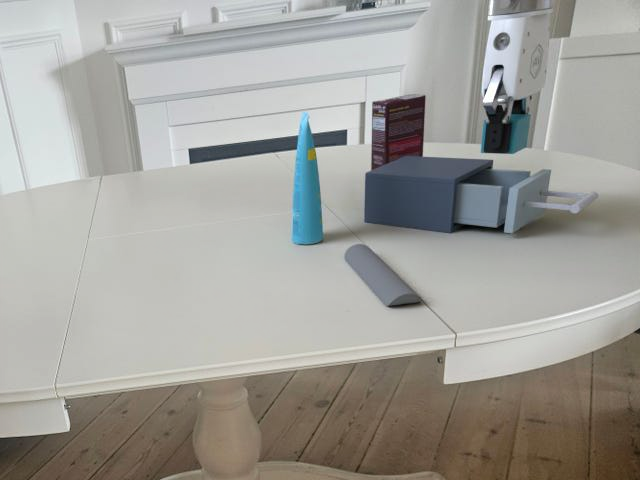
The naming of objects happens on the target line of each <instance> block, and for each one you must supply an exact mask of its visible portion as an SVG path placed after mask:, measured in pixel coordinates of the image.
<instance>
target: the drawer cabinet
mask: <svg viewBox="0 0 640 480" xmlns="http://www.w3.org/2000/svg"><path fill="white" fill-rule="evenodd" d="M484 169H494V159H486V158H485V159H483V158H463V157H462V158H461V157H443V156H442V157H439V156H423V157H420V156H405V157H402V158H400V159H397V160H395V161H393V162H390V163H388V164H385V165H383V166H381V167H378V168H376V169H374V170H371V169H370V170H368V171H366V172H365V174H364V211H363V212H364V216H363V217H364V218H363V221H364V223H370V224H378V225H387V226H393V227H401V228H407V229H416V230H424V231H430V232H431V231H432V232H438V233H439V232H440V233H446V234H451V233H453V232H455V231H456V230H458V229H460V228H462V227H463V226H465V225H466V224H461V223H454V212H455V201H456V190H457V183H458V182H460V181H462V180H464V179H466V178H468V177H470V176H472V175H474V174H476V173H478V172H480V171H482V170H484Z"/></svg>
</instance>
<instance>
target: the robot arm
mask: <svg viewBox="0 0 640 480" xmlns="http://www.w3.org/2000/svg"><path fill="white" fill-rule="evenodd" d="M555 1H556V0H489V1H488V9H487V10H488V12H487V21H491V23H490V27H489V32H488V37H487V43H486V49H485V54H484V55H485V56H484V63H483V71H482V77H481V78H482V80H481V97H482V98H483V100H482V107H483V108H484V110H485V114H486V115H485V120H486V132H485V141H484V152H485V153H484V154H502V155H506V154H505V153H507V152H508V151H509V145H510V136H511V128H512V123H509V121H510V116H511V114H530V107H531V105H530V104H531V100H532V95H534V94H537V93H539V92H540V91H541V90H543V89H544V87H545V85H546V78H547V70H548V58H549V48H550V36H551V35H550V33H551V18H550V17H551V15H550V14H551V13H554V7H555ZM503 96H505V98H499V97H503ZM503 105H504V107H503Z"/></svg>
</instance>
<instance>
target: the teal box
mask: <svg viewBox="0 0 640 480" xmlns="http://www.w3.org/2000/svg"><path fill="white" fill-rule="evenodd" d="M531 116H532V115H531V114H530V113H528V114H511V116H510V121H509V123H512V128H511V136H510V145H509V151H508V152H507V153H505V154H504V155H514V154H516V153H518V152H520V151H522V150H524V149H526V148H527V146H528V138H529V131H530V122H531ZM485 132H486V119H483V126H482V136H481V145H480V146H481V147H480V154H486V153H485V152H484V141H485Z"/></svg>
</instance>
